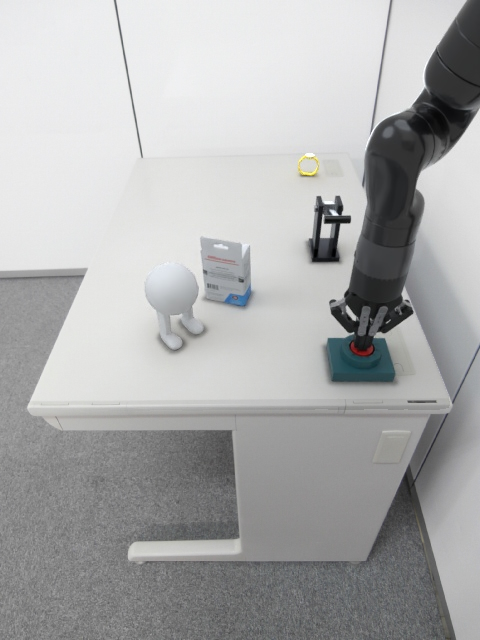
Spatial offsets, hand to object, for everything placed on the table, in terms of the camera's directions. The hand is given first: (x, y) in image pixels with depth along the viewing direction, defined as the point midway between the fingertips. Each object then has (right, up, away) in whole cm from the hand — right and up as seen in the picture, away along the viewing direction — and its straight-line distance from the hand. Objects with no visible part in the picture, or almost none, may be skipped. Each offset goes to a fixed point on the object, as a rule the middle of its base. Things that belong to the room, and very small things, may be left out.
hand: (361, 347), depth 73 cm
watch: (0, +47, +57) cm, 74 cm away
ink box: (-22, +9, +17) cm, 30 cm away
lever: (-1, +25, +17) cm, 30 cm away
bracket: (-1, +20, +28) cm, 34 cm away
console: (0, -3, +3) cm, 4 cm away
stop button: (0, -1, +1) cm, 2 cm away
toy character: (-31, +2, +10) cm, 33 cm away
